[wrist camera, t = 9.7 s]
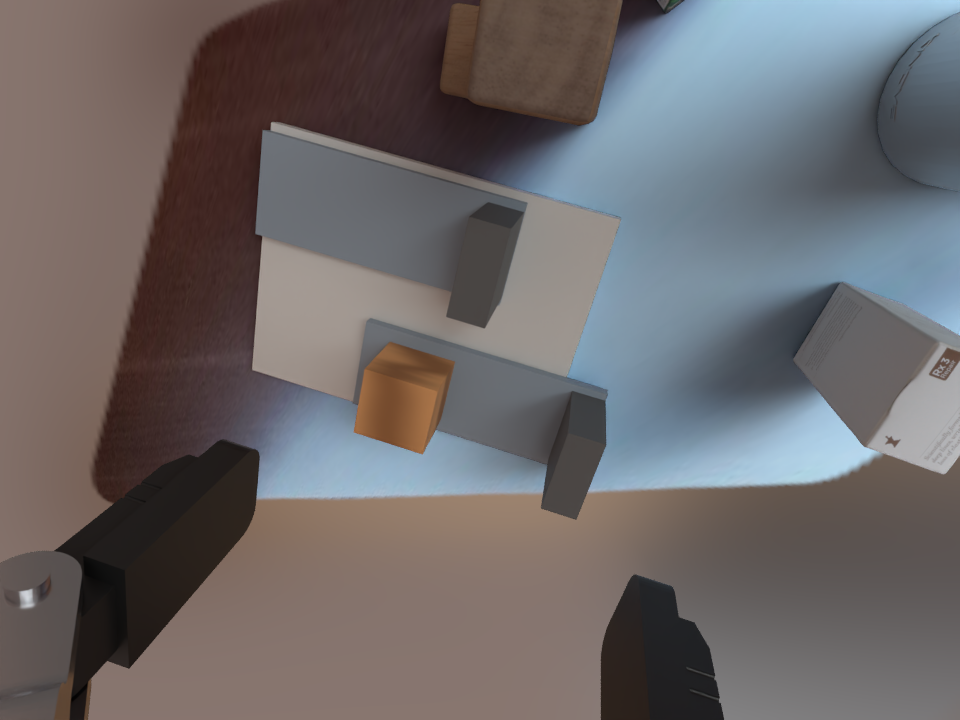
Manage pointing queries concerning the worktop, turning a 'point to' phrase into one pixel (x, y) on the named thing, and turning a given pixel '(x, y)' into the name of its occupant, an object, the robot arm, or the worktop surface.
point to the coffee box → (668, 4)
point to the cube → (403, 397)
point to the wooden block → (531, 55)
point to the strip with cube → (513, 411)
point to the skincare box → (887, 376)
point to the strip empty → (390, 220)
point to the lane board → (428, 291)
